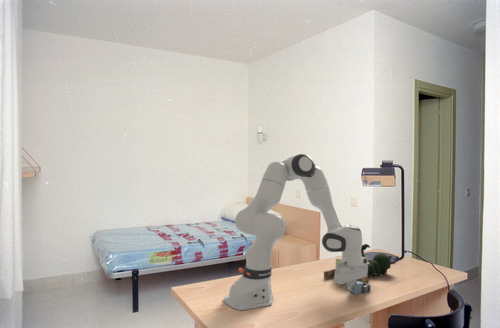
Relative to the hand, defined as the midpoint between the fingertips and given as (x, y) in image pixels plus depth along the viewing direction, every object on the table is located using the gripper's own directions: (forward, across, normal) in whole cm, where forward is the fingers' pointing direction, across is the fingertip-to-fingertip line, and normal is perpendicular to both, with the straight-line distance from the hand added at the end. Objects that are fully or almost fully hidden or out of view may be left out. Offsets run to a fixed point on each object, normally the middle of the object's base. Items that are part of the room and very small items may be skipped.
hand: (350, 289), depth 165 cm
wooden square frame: (+2, +11, +12) cm, 17 cm away
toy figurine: (+3, +33, +10) cm, 35 cm away
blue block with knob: (+2, +5, 0) cm, 5 cm away
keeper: (+2, +8, 0) cm, 8 cm away
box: (+2, +12, +13) cm, 18 cm away
